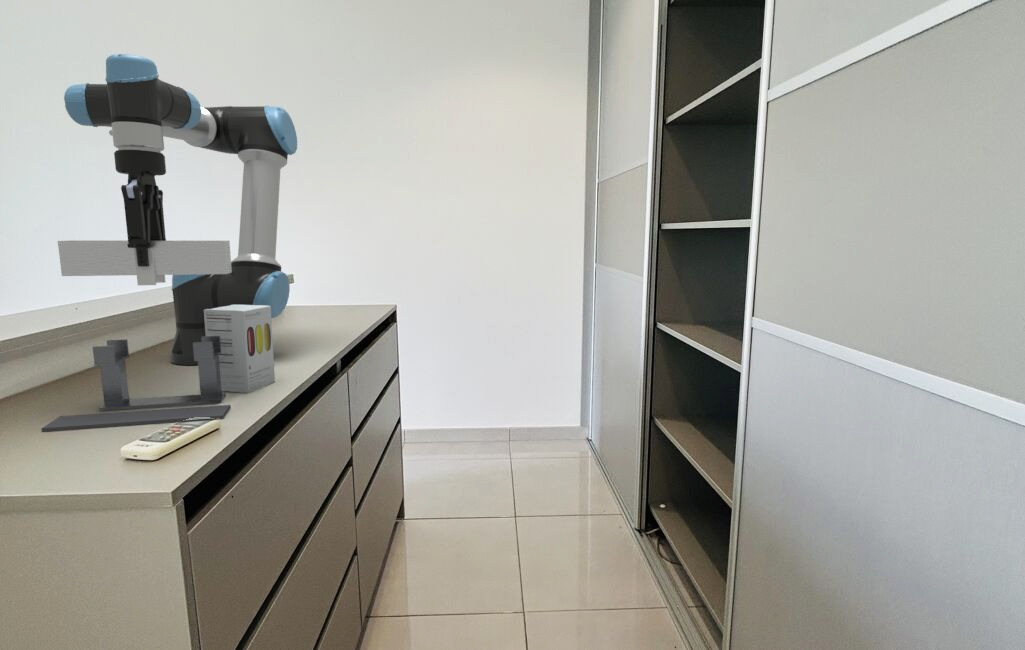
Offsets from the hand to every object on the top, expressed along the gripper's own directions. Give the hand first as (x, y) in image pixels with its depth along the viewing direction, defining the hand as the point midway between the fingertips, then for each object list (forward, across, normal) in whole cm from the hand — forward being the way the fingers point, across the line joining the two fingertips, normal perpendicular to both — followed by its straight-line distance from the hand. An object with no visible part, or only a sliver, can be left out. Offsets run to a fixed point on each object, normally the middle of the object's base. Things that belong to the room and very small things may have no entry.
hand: (152, 283), depth 106 cm
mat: (+23, +8, -1) cm, 24 cm away
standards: (+23, -1, 0) cm, 23 cm away
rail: (-2, 0, 0) cm, 2 cm away
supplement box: (+23, -10, +12) cm, 28 cm away
